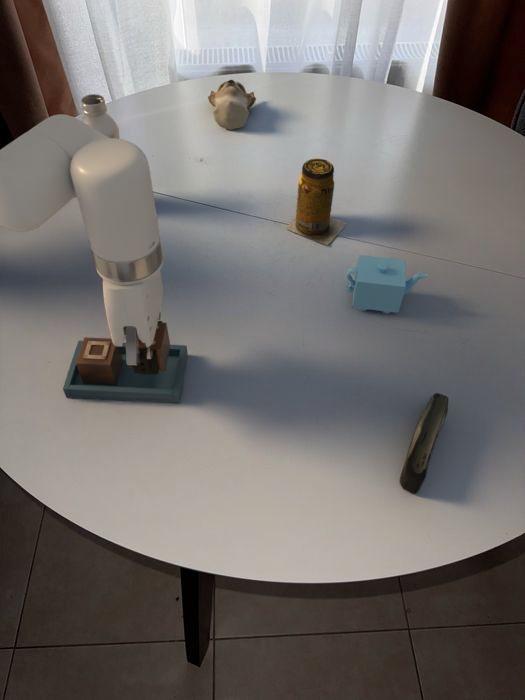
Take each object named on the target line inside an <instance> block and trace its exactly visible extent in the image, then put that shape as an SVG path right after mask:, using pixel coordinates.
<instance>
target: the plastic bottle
mask: <svg viewBox="0 0 525 700" xmlns="http://www.w3.org/2000/svg"><path fill="white" fill-rule="evenodd" d="M80 104H81V111H82V114H84V115H83V116H82V119H81V121H82V122H84V123H86V124H87V125H89V126H90V127H92V128H94V129H95V130H97V131H98V132H100V133H101V134H103V135H105V136H107V137H108V138H112V139H121V138H120V137H121V136H120V128H119V126H118V124H117V122H116V120H114V118H113V117H112V116H111V115H110V114H108V112H107V111H108V107H107V105H106V100H105V98H104V96H102V95H101V94H95V93H93V94H92V93H91V94H86V95H85V96H82V98H81V99H80Z"/></svg>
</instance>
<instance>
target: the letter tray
mask: <svg viewBox="0 0 525 700" xmlns="http://www.w3.org/2000/svg"><path fill="white" fill-rule="evenodd" d="M82 343H83V340H78V341H77V344H76V347H75V349H74V352H73V356H72V359H71V362H70V365H69V369H68V371H67V374H66V377H65V380H64V384H63V387H62V392H63V393H64V395H65V398H66V399H83V400H84V399H86V400H104V401H105V400H106V401H108V400H109V401H110V400H111V401H124V402H125V401H127V402H129V401H130V402H147V403H148V402H150V403H168V402H169V404H170V403H172V404H180V403H181V400H182V399H181V398H182V393H183V386H184V381H185V373H186V368H187V361H188V356H189V355H188V353H189V352H188V346H187V345H183V344H181V345H180V344H170V349H169V354H168V360H167V365H166V370H165V371H158V374H147V375H146V374H137V373H135V372H134V370H131V368H130V365H127V364H126V349H125V347H126V342H123V344H122V347H120V351H121V355H122V358H123V361H122V365H121V369H120V373H119V377H118V381H117V385H97V384H83V381H82V379H81V376H80V373H79V370H78V368H77V365H76V362H77V358H78V355H79V352H80V349H81V346H82Z"/></svg>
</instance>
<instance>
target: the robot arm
mask: <svg viewBox="0 0 525 700" xmlns="http://www.w3.org/2000/svg"><path fill="white" fill-rule="evenodd" d="M75 198H76V199H77V203H78V207H79V210H80V214H81V217H82V222H83V224H84V225H83V226H84V229H85V232H86V236H87V240H88V243H89V247H90V250H91V254H92V257H93V261H94V266H95V269H96V272H97V274H98V275H99V276H100V277H101V279H102V293H103V294H102V295H103V302H104V309H105V314H106V320H107V324H108V330H109V334H110V339H112V342H113V344H114V345H115V346H119V347H122V344H123V343H126V364H127V365H132V366H133V370H134V372H135V373H137V374H146V375H147V374H158V371H159V368H158V363H157V358H156V353H155V352H152V343H153V341H154V337H155V332H156V328H157V324H158V322H163V320H161V319H162V312H161V310H162V305H163V297H164V288H163V279H162V274H161V270H162V268H163V266H164V261H165V260H164V253H163V248H162V240H161V239H162V238H161V235H160V228H159V221H158V214H157V208H156V207H157V206H156V202H155V196H154V189H153V182H152V175H151V170H150V164H149V160H148V158H147V156H146V153H145V152H144V151H143V149H141V148H140V146H138V145H137V144H135V143H134V142H131V141H128V140H126V139H122V138H120V139H112V138H108V137H107V136H105V135H103V134H101V133H100V132H98V131H97V130H95V129H94V128H92V127H90V126H89V125H87V124H86V123H84V122H82V119H79V118H76V117H74V116H71V115H68V114H62V113H61V114H59V113H58V114H53V115H51V116H48V117H47V118H44V120H42V121H40V122H39V123H37V124H36V125H35V126H33V127H32V128H31V129H29V130H28V131H26V132H24V133H23V134H21V135H20V136H18V137H17V138H15V139H14V140H12V141H10V142H9V143H8V144H6V145H5V146H4V147H2V148H1V149H0V227H1V228H4V229H5V230H8V231H10V232H14V233H28V232H32V231H34V230H37V229H38V228H40V227H41V226H42V225H44V224H45V223H46V222H47V221H48V220H50V219H51V218H52V217H53V216H54V215H56V214H57V213H58V212H59V211H60V210H62V208H64V207H65V206H66V205H67V204H68V203H69V202H71V201H72V200H73V199H75ZM139 344H145V348H146V349H139Z"/></svg>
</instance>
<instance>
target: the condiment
mask: <svg viewBox="0 0 525 700" xmlns="http://www.w3.org/2000/svg"><path fill="white" fill-rule="evenodd" d="M334 173H335V167H334V165H333V164H332V162H330V161H328V160H326V159H323V158H311V159H308V160H306V161H305V162H304V163H303V164H302V167H301V173H300V175H301V176H300V177H299V179H298V185H297V186H298V187H297V198H296V209H295V218H294V219H293V220H292V222H290V223H289V224H288V225H287V226H286V227H285V230H288V231H289V232H293V233H295V234H297V235H300V236H302V237H305V238H307V239H311V240H313V241H315V242H317V243H320V244H322V245H325V246H328V245H329V244H330V243H331V242H332V241H333V240H334V239H335V238H336V237H337V236H338V235H339V234H340V232H341V231H342V230H343V229H344V228H345V226H346V225H347V223H345V222H342V221H340V220H338V219H334V218H332V217H331V214H332V205H333V197H334V191H335V180H334V176H335V175H334Z"/></svg>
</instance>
